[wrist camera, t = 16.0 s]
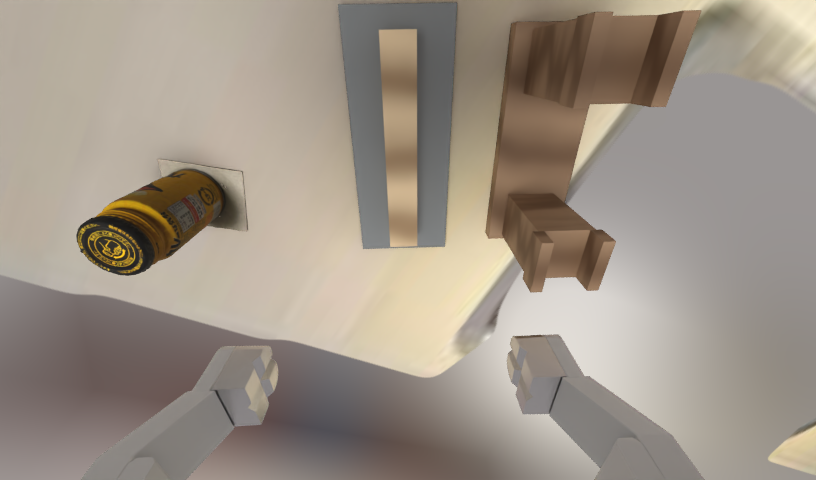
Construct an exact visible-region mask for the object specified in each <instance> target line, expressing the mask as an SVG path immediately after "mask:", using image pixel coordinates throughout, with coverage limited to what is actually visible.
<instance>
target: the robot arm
mask: <svg viewBox="0 0 816 480" xmlns="http://www.w3.org/2000/svg"><path fill="white" fill-rule="evenodd" d="M510 345H511V348H512V350H511V351H510V352H509V353H508V358H507V367H508V372H509V376H510V379H511V382H512V383H513V384H514V385H515V386H516V387H517V392H516V396H517V399H518V402H519V405H520V408H521V410H522V413H523V414H550V417H551V418H552V419H553V420H554V421H555V422H556V423H557V424H558V425H559V426H560V427H561V428H562V429H563V430H564V431H565V432H566V433H567V434H568V435H569V436H570V437H571V438H572V439H573V440H574V441H575V443H577V445H578V446H579V447H580V448H581V449H582V450H583V451H584V452H585V453H586V454H587V455H588V456H589V457H590V458H591V459H592V460H593V461H594V462H595V463H596V464H597V465H598V466H599V467H600V468H601V469H600V471H599V472H598V474H597V476H596V478H595V479H594V480H704V478H703V477H702V476H701V474H700V473H699V471H698V470H697V469H696V467H695V466H694V465H693V463H692V462H691V461H690V459H689V458H688V457H687V455H686V454H685V452H684V451H683V450H682V448H681V447H680V445H679V444H678V443H677V441H676V440H675V439H674V437H673V436H672V435H671V434H670V433H668V432H667V431H666V430H664V429H663V428H661V427H660V426H659V425H657V424H656V423H654V422H653V421H652V420H650V419H648V418H647V417H646V416H644V415H643V414H642V413H640V412H638V411H637V410H636V409H635V408H633V407H632V406H630V405H629V404H627V403H626V402H625V401H623V400H622V399H621V398H619V397H618V396H616V395H615V394H613V393H612V392H611V391H609V390H608V389H606V388H605V387H604V386H602V385H601V384H599V383H598V382H596V381H595V380H594V379H592V378H591V377H590V376H584V375H583V373H582V371H581V369H580V368H579V367H578V365H577V363H576V361H575V360H574V358H573V356H572V355H571V353H570V351H569V350H568V348H567V346H566V345H565V343H564V341H563V340H562V338H561V337H560V336H559V335H531V336H513V337H512V339H511V342H510ZM272 354H273V352H272V350H271V347H270V346H223V347H221V348H220V349H219V350H218V351H217V352H216V354H215V355H214V357H213V359H212V360H211V362H210V363H209V365H208V367H207V368H206V370H205V371H204V373H203V374H202V376H201V378H200V379H199V381H198V382H197V384H196V386H195V387H194V389H193V390H192V391H191V392H190V391H189V392H186V393H185V394H183V395H182V396H181V397H179V398H178V399H176V400H175V401H174V402H172V403H171V404H170V405H168V406H167V407H166V408H164V409H163V410H162V411H160V412H159V413H158V414H156V415H155V416H153V417H152V418H151V419H149V420H148V421H147V422H145V423H144V424H142V425H141V426H140V427H138V428H137V429H136V430H134V431H133V432H132V433H130V434H129V435H128V436H126V437H125V438H123V439H122V440H121V441H119V442H118V443H117V444H115V445H114V446H113V447H112V448H110V449H109V450H107V451H106V452H104V453H103V454H102V455H100V456H99V457H98V458H97V459H96V460H95V462H94V463H93V464H92V466H91V467H90V468H89V469H88V471H87V472H86V473H85V475H84V476H83V477H82V479H81V480H186V479H187V478H188V477H189V476H190V475H191V474H192V473H193V472H194V470H196V469H197V467H198V466H199V465H200V464H201V463H202V462H203V461H204V460H205V459H206V458H207V457H208V456H209V454H210V453H211V452H212V451H213V450H214V449H215V448H216V447H217V446H218V445H219V444H220V443H221V442H222V440H224V438H225V437H226V436H227V435H228V434H229V433H230V432H231V431H232V430H233V429H234V426H247V425H261V424H262V421H263V419H264V416H265V414H266V411H267V408H268V406H269V403H268V400H267V397H268V396H269V395H270V394H271V393H273V392H274V390H275V387H276V384H277V379H278V367H277V363H276V362H275V361H274V360H273V359H271V356H272Z"/></svg>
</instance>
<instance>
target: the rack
mask: <svg viewBox="0 0 816 480" xmlns="http://www.w3.org/2000/svg"><path fill="white" fill-rule="evenodd" d="M700 13H701V10H692V11H679V12H673V13H668V14H662V15H641V16H612V15H613V12H594V13H590V14H586V15H582V16H578V17H577V19H573V20H569V21H552V22H516V23H513V24H511V30H510V39H509V47H508V55H507V63H506V71H505V79H504V87H503V95H502V103H501V111H500V119H499V127H498V135H497V143H496V152H495V160H494V168H493V176H492V184H491V192H490V200H489V208H488V216H487V224H486V232H485V233H486V234H487V236H488V238H489V239H490V238H504V239H505V241H506V242H507V244H508V246H509V247H510V249H511V251H512V252H513V254H514V256H515V257H516V259H517V261H518V262H519V264H520V266H521V268H522V269H523V271H524V275H523V280H524V282H525V283H526V285H527V287H528V289H529V290H530V292H542V289H543V286H544V282H545V278H557V277H576V278H577V279H578V280H579V282H580V283H581V284H582V285H583V286H584V288H585V289H586V290H587V291H591V290H598V289H599V286H600V284H601V281H602V278H603V276H604V273H605V270H606V267H607V265H608V262H609V259H610V257H611V254H612V251H613V249H614V246H615V243H616V241H615V240H614V239H613V238H611V237H610V236H609V235H608V234H607V233H605V232H604V231H603V230H596V229H595V228H593V227H592V226H591V225H590V224H589V223H588V222H586V221H585V220H584V219H583V218H582V217H581V216H579V215H578V214H577V213H576V212H574V210H572V209H571V208H570V207H569V206H568V205H566V204H565V199H566V195H567V191H568V187H569V183H570V179H571V175H572V171H573V167H574V163H575V159H576V155H577V151H578V148H579V144H580V140H581V136H582V132H583V128H584V124H585V120H586V116H587V112H588V108H589V105H590V104H622V103H631V104H637V105H642V106H648V107H666V105H667V102H668V100H669V97H670V94H671V91H672V89H673V86H674V83H675V81H676V78H677V75H678V73H679V70H680V67H681V64H682V62H683V59H684V56H685V54H686V51H687V48H688V45H689V43H690V40H691V37H692V35H693V32H694V29H695V27H696V24H697V21H698V18H699V16H700Z"/></svg>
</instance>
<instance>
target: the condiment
mask: <svg viewBox="0 0 816 480" xmlns="http://www.w3.org/2000/svg"><path fill="white" fill-rule="evenodd" d="M157 160H158V164H159V168H160V171H161V176H162V178H161V179H159V180H157V181H154V182H152V183H150V184H149V185H146V186H144V187H142V188H140V189H138V190H136V191H134V192H132V193H130V194H128V195H126V196H124V197H122V198H120V199H117V200H116V201H114V202H112V203H110V204H109V205H108V206H107V207H105V208H104V209H103V211H102V212H101V213H100V214H98V215H97V216H96V217H94V218H91V219H89V220H87V221H86V222H85V223H83V224H82V225H81V226H80V227H79V229H78V232H77V242H78V245H79V247H80V249H81V252H82V253H84V255H85V256H86V257H87V258H88V260H90V261H91V262H92V263H93V264H95V265H97V266H98V267H100V268H102V269H103V270H106V271H108V272H112V273H115V274H118V275H126V276H129V275H136V274H139V273H141V272H144V271H146V269H149V268H150V266H151V265H153V264H155V263H156V262H158V261H159V260H163V259H166V258H168V257H170V256H172V255H173V254H174V253H175V252H176V251H177V250H179V249H180V248H181V247H182V246H183V245H184V244H186V243H187V242H188V241H189V240H190V239H192V238H193V237H194V236H195V235H196V234H198V233H199V232H200V231H201V230H202V229H203V228H205V227H206V226H213V227H217V228H227V229H234V230H238V231H247V220H246V206H245V195H244V185H243V177H242V172H240V171H233V170H227V169H220V168H213V167H207V166H202V165H196V164H189V163H183V162H176V161H170V160H162V159H157ZM221 184H222V185H223V186H222V185H221ZM225 187H226V188H227V189H226V188H225Z"/></svg>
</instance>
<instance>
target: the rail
mask: <svg viewBox="0 0 816 480" xmlns="http://www.w3.org/2000/svg"><path fill="white" fill-rule="evenodd" d="M379 43H380V62H381V81H382V100H383V118H384V137H385V156H386V175H387V194H388V213H389V232H390V247H409V246H417V29H392V30H379Z"/></svg>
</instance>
